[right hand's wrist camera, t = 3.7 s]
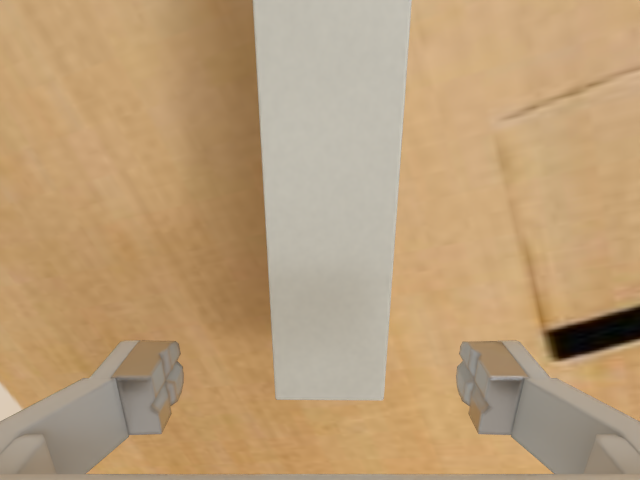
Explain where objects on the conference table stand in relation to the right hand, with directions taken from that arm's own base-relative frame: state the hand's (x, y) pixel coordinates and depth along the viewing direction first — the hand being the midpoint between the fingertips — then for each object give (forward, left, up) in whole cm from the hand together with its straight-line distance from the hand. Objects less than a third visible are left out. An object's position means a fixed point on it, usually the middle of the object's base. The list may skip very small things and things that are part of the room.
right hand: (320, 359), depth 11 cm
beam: (+18, -21, -10) cm, 29 cm away
